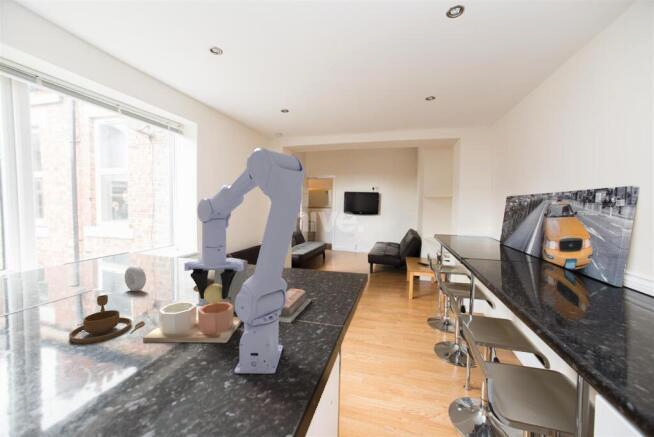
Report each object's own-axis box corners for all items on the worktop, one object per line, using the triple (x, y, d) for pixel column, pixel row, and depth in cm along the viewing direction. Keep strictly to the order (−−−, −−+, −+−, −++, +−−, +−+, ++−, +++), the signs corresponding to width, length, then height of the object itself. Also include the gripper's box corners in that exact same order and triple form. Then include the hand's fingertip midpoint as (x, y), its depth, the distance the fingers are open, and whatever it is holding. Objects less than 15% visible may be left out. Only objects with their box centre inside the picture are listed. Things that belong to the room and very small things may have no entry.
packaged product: (285, 286, 91) (311, 289, 88) (285, 299, 91) (311, 302, 88) (259, 304, 74) (290, 308, 71) (259, 320, 74) (290, 325, 71)
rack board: (226, 342, 60) (226, 338, 60) (143, 341, 60) (143, 337, 60) (242, 320, 72) (242, 316, 72) (173, 319, 72) (173, 315, 72)
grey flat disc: (122, 290, 97) (122, 264, 96) (132, 288, 100) (132, 263, 99) (138, 294, 93) (138, 267, 92) (148, 291, 96) (147, 265, 95)
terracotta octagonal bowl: (225, 334, 62) (225, 314, 62) (193, 333, 62) (193, 314, 62) (236, 320, 70) (236, 302, 70) (208, 319, 70) (208, 302, 70)
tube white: (185, 333, 62) (184, 313, 62) (153, 333, 62) (153, 313, 62) (200, 319, 70) (200, 302, 70) (172, 319, 70) (172, 301, 70)
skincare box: (211, 309, 80) (211, 260, 80) (230, 301, 87) (230, 256, 86) (230, 314, 76) (230, 263, 76) (248, 306, 83) (248, 259, 82)
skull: (195, 281, 106) (212, 263, 108) (214, 296, 108) (231, 278, 110) (186, 289, 95) (206, 268, 96) (208, 306, 97) (227, 285, 98)
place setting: (39, 350, 57) (38, 324, 57) (98, 314, 77) (97, 295, 76) (127, 342, 61) (126, 318, 61) (162, 310, 80) (162, 291, 80)
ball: (220, 307, 63) (220, 287, 63) (200, 306, 63) (200, 287, 63) (227, 299, 68) (227, 281, 68) (209, 299, 68) (209, 281, 68)
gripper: (247, 244, 69) (247, 292, 70) (194, 243, 69) (194, 292, 70) (238, 248, 62) (238, 302, 63) (179, 247, 62) (179, 301, 62)
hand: (214, 297), depth 66 cm, fingers closed on ball, 5 cm apart
